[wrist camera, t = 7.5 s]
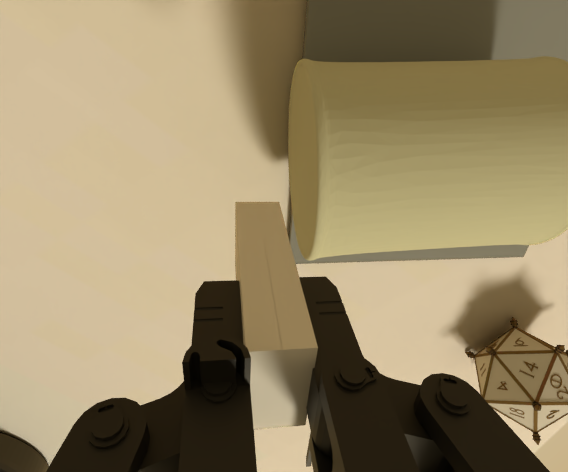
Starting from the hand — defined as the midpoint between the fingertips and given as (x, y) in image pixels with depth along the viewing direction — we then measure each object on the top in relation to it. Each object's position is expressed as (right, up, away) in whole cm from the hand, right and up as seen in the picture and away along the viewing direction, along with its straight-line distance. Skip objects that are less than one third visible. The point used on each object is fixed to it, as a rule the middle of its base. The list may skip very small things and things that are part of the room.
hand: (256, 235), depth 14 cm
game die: (+20, -9, +22) cm, 32 cm away
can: (+2, +3, +5) cm, 6 cm away
